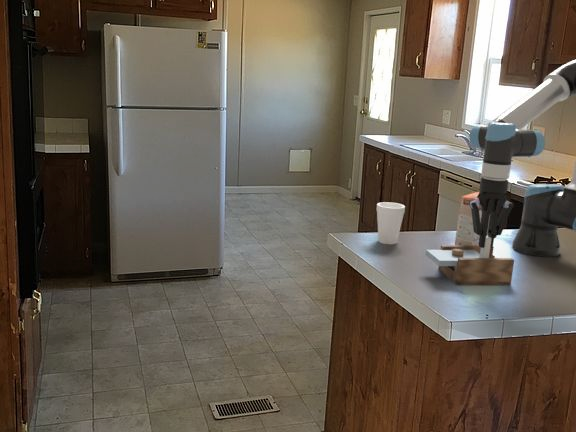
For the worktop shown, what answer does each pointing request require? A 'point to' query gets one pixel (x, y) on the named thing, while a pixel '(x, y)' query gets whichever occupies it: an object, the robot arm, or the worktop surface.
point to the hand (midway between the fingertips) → (484, 258)
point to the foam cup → (389, 221)
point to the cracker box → (467, 222)
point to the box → (479, 268)
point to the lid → (451, 256)
